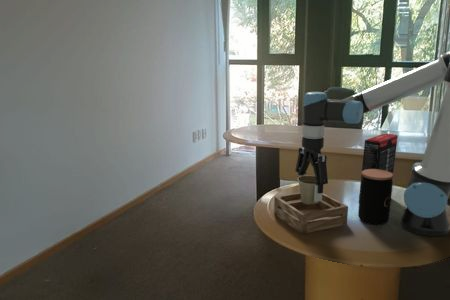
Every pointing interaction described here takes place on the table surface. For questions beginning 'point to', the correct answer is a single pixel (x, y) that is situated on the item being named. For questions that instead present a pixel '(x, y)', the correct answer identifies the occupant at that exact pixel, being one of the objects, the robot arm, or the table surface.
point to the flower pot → (307, 189)
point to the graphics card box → (380, 153)
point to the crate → (310, 213)
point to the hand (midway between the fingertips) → (309, 196)
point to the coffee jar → (375, 196)
